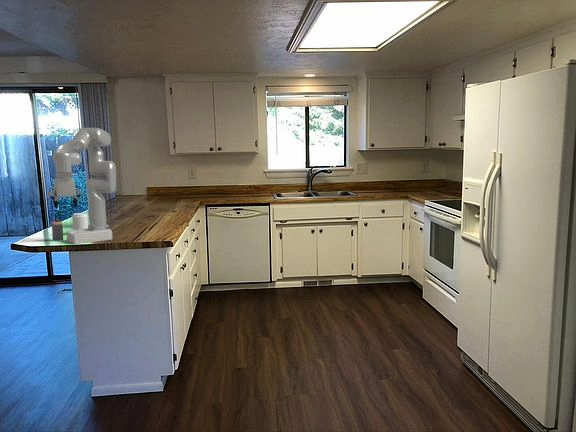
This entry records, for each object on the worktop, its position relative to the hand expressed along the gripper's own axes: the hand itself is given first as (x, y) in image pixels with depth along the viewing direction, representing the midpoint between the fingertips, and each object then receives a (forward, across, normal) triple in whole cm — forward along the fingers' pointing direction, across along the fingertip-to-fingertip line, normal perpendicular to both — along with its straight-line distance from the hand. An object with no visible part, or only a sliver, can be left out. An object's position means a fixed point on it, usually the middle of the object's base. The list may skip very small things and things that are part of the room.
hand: (65, 207), depth 245 cm
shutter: (+13, -13, +7) cm, 20 cm away
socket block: (+18, -9, +7) cm, 22 cm away
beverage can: (+18, -13, -15) cm, 27 cm away
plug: (+18, +4, -4) cm, 19 cm away
